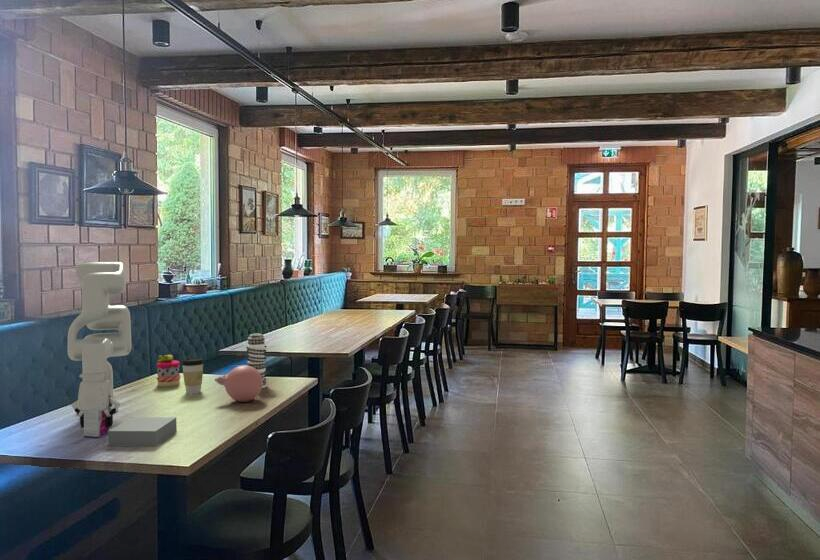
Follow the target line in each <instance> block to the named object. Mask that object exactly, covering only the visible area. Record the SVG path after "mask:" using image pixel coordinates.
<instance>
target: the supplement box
mask: <svg viewBox="0 0 820 560" xmlns="http://www.w3.org/2000/svg"><path fill="white" fill-rule="evenodd" d="M106 416H107V415H106V414H105V412H104V411H99V406H92V410H91V411H84V428H83V438H88V439H89V438H90V439H99V438H101V437H103V436H106V435H108V431H109V430H110V427H109V428H106V427H105V417H106Z"/></svg>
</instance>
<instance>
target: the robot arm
mask: <svg viewBox="0 0 820 560" xmlns="http://www.w3.org/2000/svg"><path fill="white" fill-rule="evenodd" d="M75 276H76V279H77V282H78V283H79V286H80V288H81V312H80V314H78V316H77V317H76V318H75V319H74V320H73V321H72V322H71V325H70V326H69V328H68V332H67V356H68V358H69V359H70V360H71V361H74V362H75V361H76V362H77V361H78V362H79V361H82V362H81V363H82V365H81V367H82V372H81V373H80V374H79V376H78V377H79V378H81V380H82V381H80V383H79V386H78V387H79V389H78V395H77V400H75V401H74V402H73V403H71V407H72V408H73V410H74V412H75V413H76V414H77V416H78V417H79V425H80V428H81V429H84V411H91V410H92V406H99V411H104V412H105V414H106V415H107V416H106V417H105V427H106V428H109V429H110V428H111V427H112V426H113V424H114V418H113V417H114V416H113V415H114V414H115V413H116V412H118V411H119V408H120V406H122V405H121V403H120V402H119V401H118V400H116V399H114V377H113V375H114V374H113V366H112V364H111V363H110V362H109V361H108V360H107V359H108V358H110V357H111V358H112V357H123V356H128V355H129V354H130V353H131V351H132V346H133V345H132V329H131V328H132V327H131V326H132V325H131V324H132V323H131V311H130V310H129V308H128V306H125V305H122V304H121V305H110V295H121V294H123V293H124V292H125V290H126V288H127V287H126V285H127V269H126V265H125V264H124V263H123V262H121V261H104V262H103V261H90V262H81V263H79V264H77V265H76V267H75ZM85 326H86V327H87V329H89V330H92V331H104V330H105V331H106V330H117V331H118V332H103V333H102V332H100V333H92V334H88V335H86V336H85V337H84V338H81V339H80V338H79V339H77V336H78V332H80V330H81V329H82V328H83V327H85Z"/></svg>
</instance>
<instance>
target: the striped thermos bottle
mask: <svg viewBox="0 0 820 560" xmlns="http://www.w3.org/2000/svg"><path fill="white" fill-rule="evenodd" d="M265 338H266V336H265V335H263V334H262V333H251V334H249V336H248V337H247V346H246V353H247V354H246V359H247V364H248V366H251V367H254V368H255V369H257V370H258V371H259V373H260V374H261V377H262V381H263V385H262V389H264V388H266V387H267V378H266V377H267V371H266V362H267V361H266V359H267V357H266V356H267V349H266V348H267V345H266V343H265Z"/></svg>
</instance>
